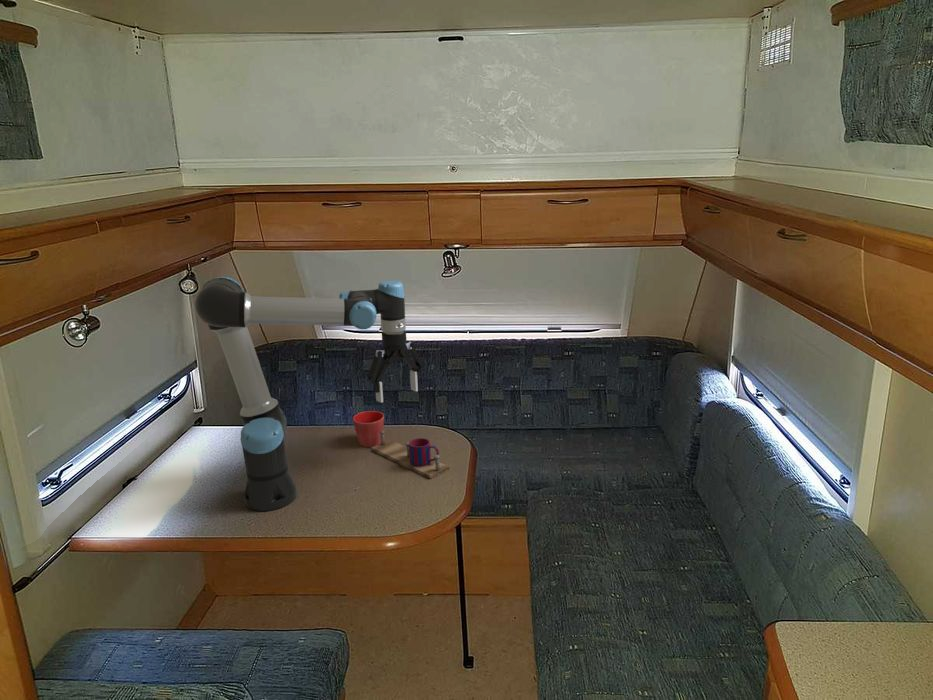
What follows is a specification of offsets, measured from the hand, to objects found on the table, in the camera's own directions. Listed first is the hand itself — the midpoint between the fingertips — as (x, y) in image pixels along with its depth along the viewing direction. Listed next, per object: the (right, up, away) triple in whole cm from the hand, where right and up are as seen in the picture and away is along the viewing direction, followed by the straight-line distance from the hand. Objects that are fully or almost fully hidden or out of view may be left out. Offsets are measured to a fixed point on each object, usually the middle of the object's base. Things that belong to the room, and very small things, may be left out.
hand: (397, 395), depth 215 cm
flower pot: (-11, -18, +20) cm, 29 cm away
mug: (+9, -22, +1) cm, 23 cm away
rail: (+3, -21, +6) cm, 22 cm away
